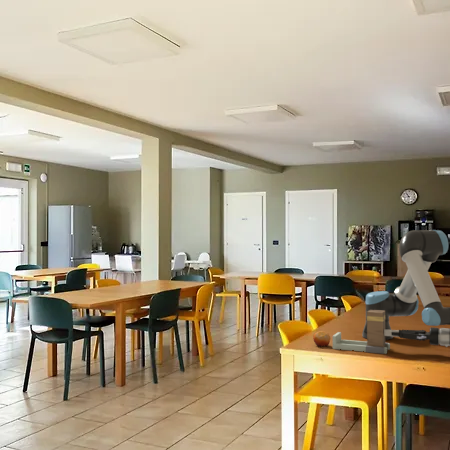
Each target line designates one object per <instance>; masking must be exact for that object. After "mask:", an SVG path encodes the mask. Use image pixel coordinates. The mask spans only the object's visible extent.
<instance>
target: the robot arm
mask: <svg viewBox="0 0 450 450" xmlns="http://www.w3.org/2000/svg"><path fill="white" fill-rule="evenodd" d="M398 245H399V246H398V251H399V255H400V258H401V261H402V262H404V263H405V265H406V267H407V270H406V273H405V276H404V277H403V279H402V282H401V284H400V286H397V287H396V288H395V290H394V291H393V293H390V292H389V291H386V290H382V291H380V290H378V291H377V290H376V291H372V292H368V293H367V294H366V295H365V324H364V327H363V330H362V338H364V339H367V312H368V311H369V310H382V311H385V330H384V336H385V341H387V340H392V339H393V338H394V337H396V338H400V339H406V340H407V339H408V340H413V341H419V342H420V341H427V340H428V341H429V344H430V345H432V346H439V345H440V346H444V347H445V348H448V347H450V328H447V327H446V328H445V327H440V328H439V326H447V325H449V326H450V306H445V307H444V306H443V304H442V301H441V299H440V297H439V295H438V292H437V290H436V287H435V285H434V283H433V281H432V278H431V276H430V273H429V269H430V267H431V264H432V263H435V262H436V261H437V260H438V258H439V256H443V255H446V253H448V250H449V240H448V237H447V235H446V234H445V233H444V232H443V231H442V230H439V229H437V230H436V229H432V230H431V229H429V230H427V229H426V230H424V229H423V230H421V229H420V230H419V229H417V230H410V231H408V232H406V233H405V234H404V235H402V237H401V239H400V241H399V244H398ZM417 294H418V295H417ZM418 296H419V298H418ZM419 299H420V301H421V304H422V306H423V308H424V309H423V310H422V311H421V320H422V322H423V323H424V324H425V325H426V326H430V327H429V331H427V330H424V329H421V330H420V329H397V330H396V329H392V327H391V324H390V317H408V316H412V315H415V314H416V313H417V311H418V310H419V303H420V301H419ZM431 326H432V327H431ZM436 326H438V327H436Z"/></svg>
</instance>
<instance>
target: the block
mask: <svg viewBox="0 0 450 450" xmlns="http://www.w3.org/2000/svg"><path fill="white" fill-rule="evenodd" d="M384 330H385V311H382V310H369V311H368V312H367V338H366V342H367V346H379V347H385V343H386V340H385V336H384Z"/></svg>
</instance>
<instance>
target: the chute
mask: <svg viewBox="0 0 450 450" xmlns="http://www.w3.org/2000/svg"><path fill="white" fill-rule="evenodd" d="M332 349H333V350H340V349H341V351H352V350H354V352H363V351H364V352H365V353H370V354H371V353H372V354H379V355H380V354H383V355H384V354H385V355H387V353H388V350H391V343H389V342H385V347H379V346H367V341H366V340H365V341H362V340H353V339H352V340H351V339H342V332H341V331H337V332H336V333H335V334H333V335H332Z"/></svg>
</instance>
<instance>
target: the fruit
mask: <svg viewBox="0 0 450 450" xmlns="http://www.w3.org/2000/svg"><path fill="white" fill-rule="evenodd" d="M330 341H331V336H330V333H328V332H326V331H325V330H320V331H316V332H315V333H314V334H313V342H314V344H315V345H316V346H317V347H328V346H329V345H330Z"/></svg>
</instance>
